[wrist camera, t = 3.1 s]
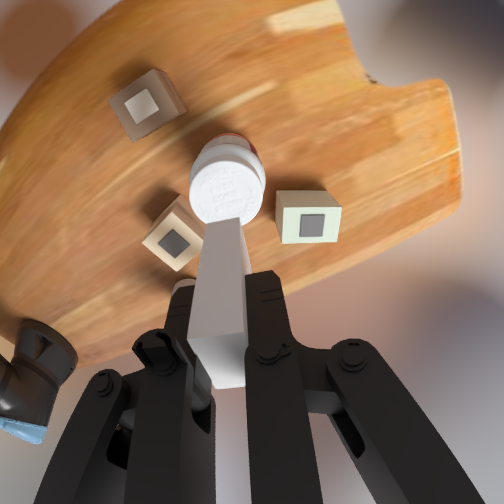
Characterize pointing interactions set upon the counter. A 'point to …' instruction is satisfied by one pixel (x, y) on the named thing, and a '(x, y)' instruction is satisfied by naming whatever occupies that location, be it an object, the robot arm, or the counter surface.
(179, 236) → the beech block
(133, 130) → the walnut block
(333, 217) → the sage block
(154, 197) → the counter surface
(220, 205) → the pill bottle
